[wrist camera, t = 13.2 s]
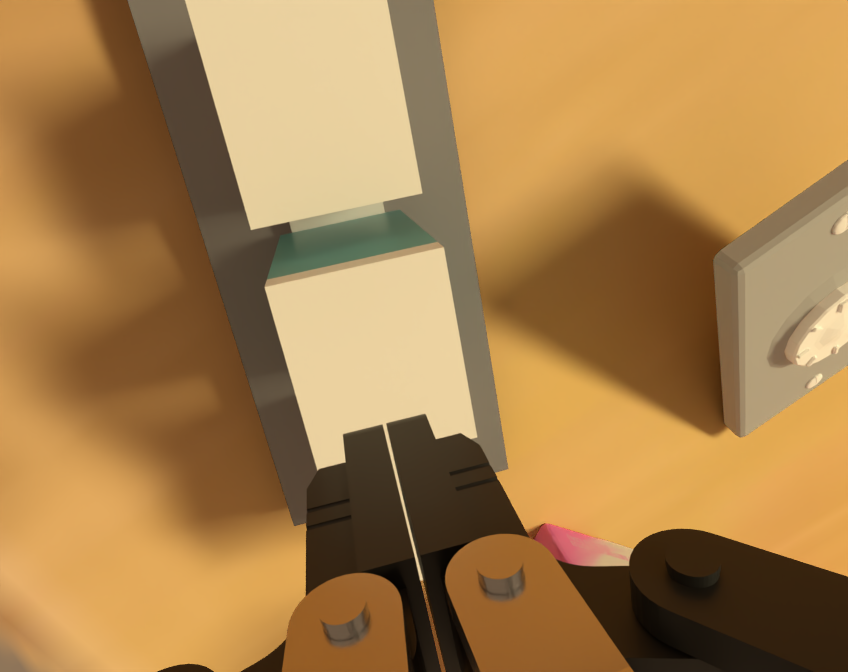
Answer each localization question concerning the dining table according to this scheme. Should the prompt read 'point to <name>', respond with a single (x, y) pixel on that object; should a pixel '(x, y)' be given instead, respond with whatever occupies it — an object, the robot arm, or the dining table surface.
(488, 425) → the rail board
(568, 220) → the dining table surface
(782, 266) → the light switch
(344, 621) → the robot arm
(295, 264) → the block
